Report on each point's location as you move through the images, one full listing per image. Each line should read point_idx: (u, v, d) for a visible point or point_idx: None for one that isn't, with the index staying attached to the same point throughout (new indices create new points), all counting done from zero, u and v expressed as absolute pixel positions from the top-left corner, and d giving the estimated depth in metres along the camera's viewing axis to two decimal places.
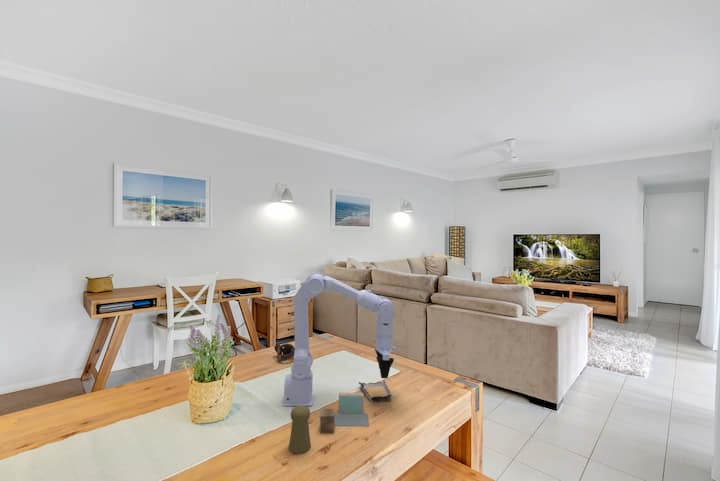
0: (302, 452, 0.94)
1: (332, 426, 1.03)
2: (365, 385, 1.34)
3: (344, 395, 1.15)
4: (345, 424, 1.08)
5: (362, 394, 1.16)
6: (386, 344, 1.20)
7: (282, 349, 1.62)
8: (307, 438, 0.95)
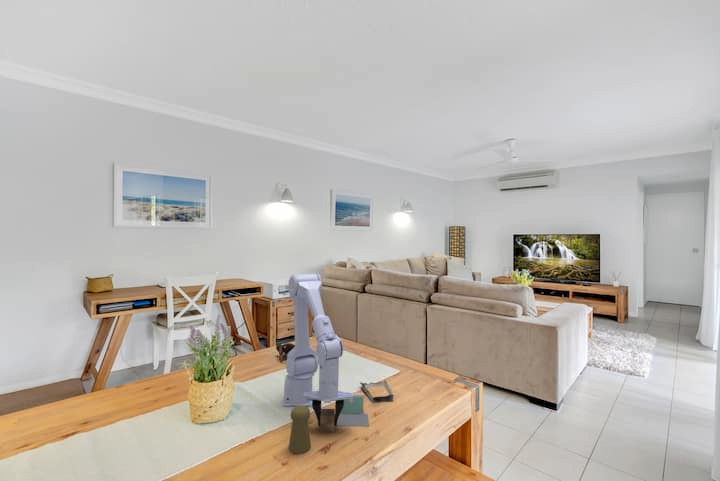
0: (302, 452, 0.94)
1: (332, 426, 1.03)
2: (366, 385, 1.34)
3: None
4: (345, 424, 1.08)
5: (362, 394, 1.16)
6: None
7: (284, 349, 1.63)
8: (307, 438, 0.95)
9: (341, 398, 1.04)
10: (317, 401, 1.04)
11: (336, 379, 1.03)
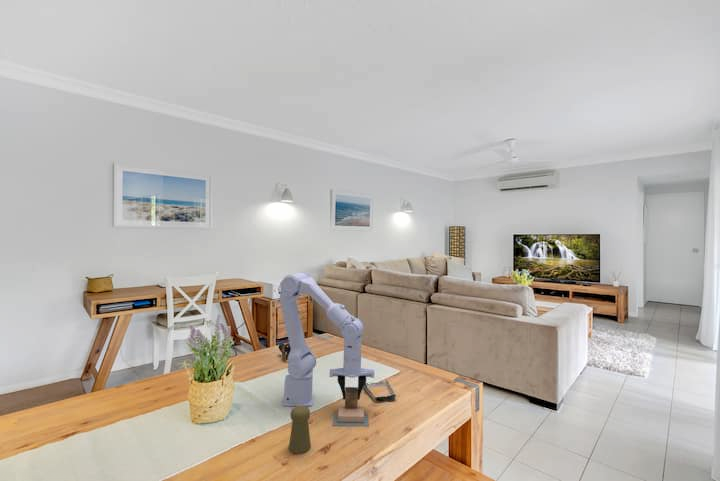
0: (302, 452, 0.94)
1: (356, 402, 1.13)
2: (368, 385, 1.34)
3: (343, 421, 1.09)
4: (345, 424, 1.08)
5: (363, 419, 1.09)
6: (343, 365, 1.15)
7: (286, 348, 1.64)
8: (307, 438, 0.95)
9: (364, 374, 1.14)
10: (342, 377, 1.15)
11: None
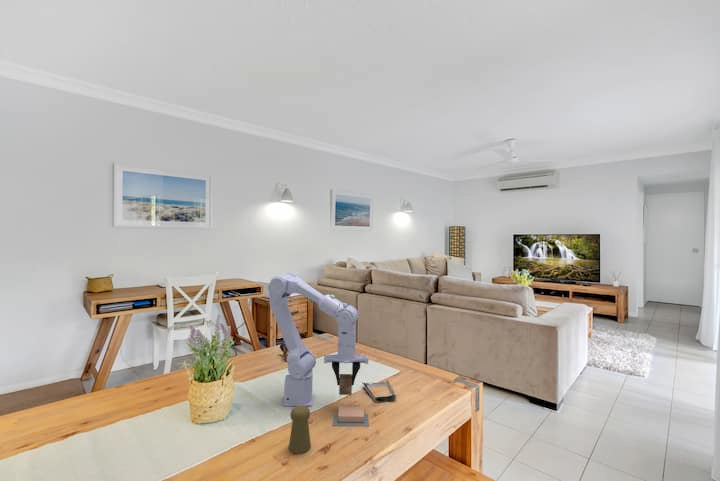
0: (302, 452, 0.94)
1: (350, 389, 1.15)
2: (369, 385, 1.34)
3: (343, 421, 1.09)
4: (345, 424, 1.08)
5: (363, 419, 1.09)
6: None
7: None
8: (307, 438, 0.95)
9: (358, 360, 1.15)
10: (336, 363, 1.16)
11: None
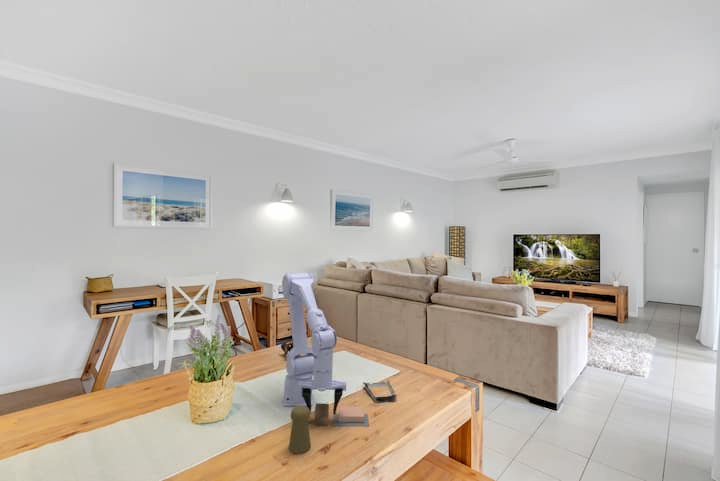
0: (302, 452, 0.94)
1: (326, 420, 1.07)
2: (369, 385, 1.34)
3: (343, 421, 1.09)
4: (345, 424, 1.08)
5: (363, 419, 1.09)
6: None
7: (289, 347, 1.64)
8: (307, 438, 0.95)
9: (335, 387, 1.07)
10: None
11: (330, 368, 1.07)
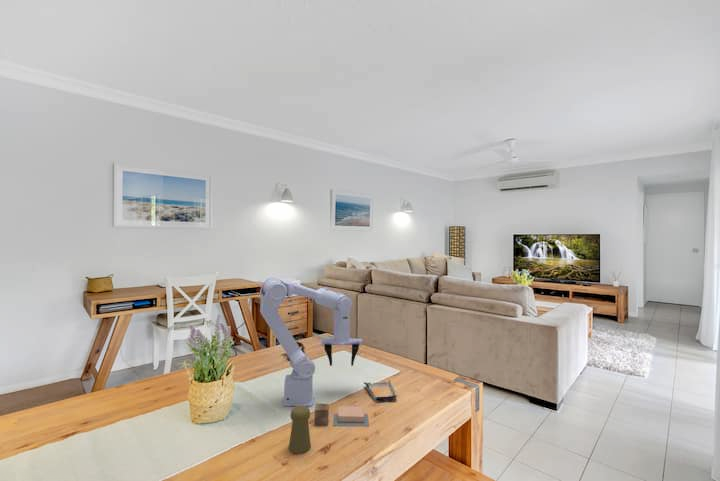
0: (302, 452, 0.94)
1: (326, 420, 1.07)
2: (370, 385, 1.35)
3: (343, 421, 1.09)
4: (345, 424, 1.08)
5: (363, 419, 1.09)
6: (334, 335, 1.27)
7: None
8: (307, 438, 0.95)
9: (352, 342, 1.26)
10: None
11: None
